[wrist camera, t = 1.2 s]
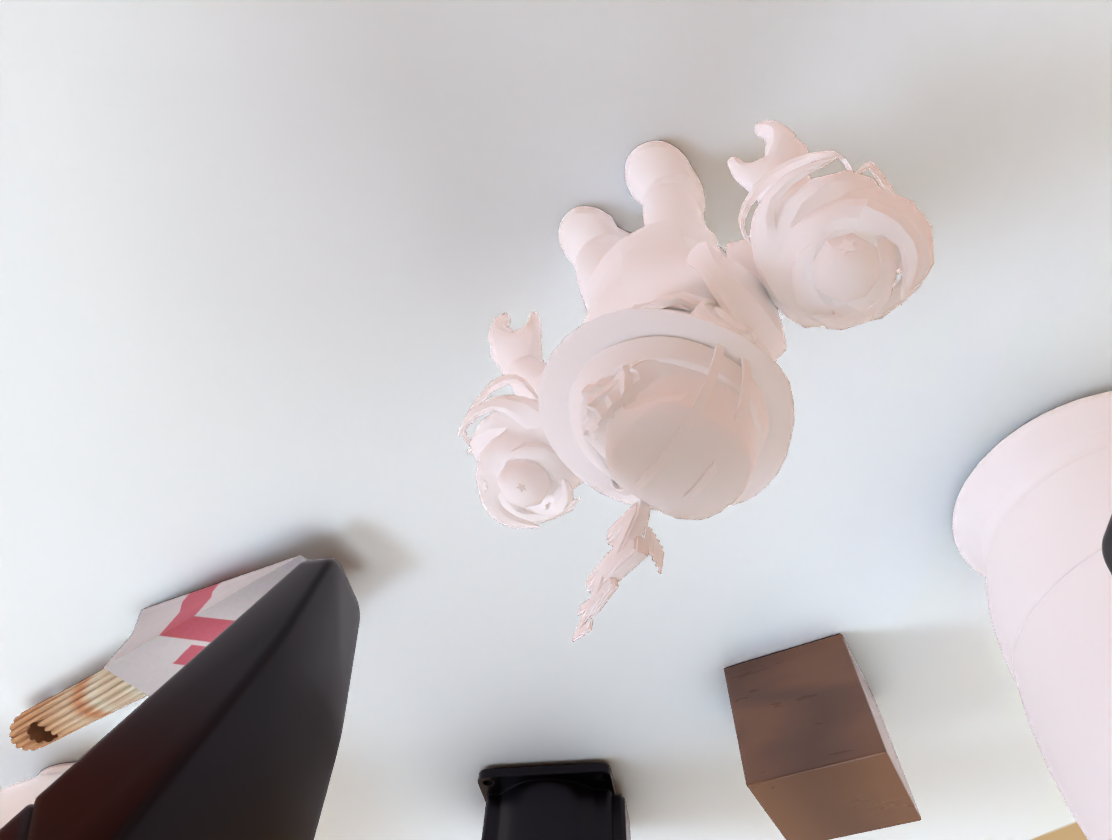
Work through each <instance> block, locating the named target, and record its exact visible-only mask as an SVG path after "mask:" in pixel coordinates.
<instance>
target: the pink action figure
mask: <svg viewBox="0 0 1112 840" xmlns="http://www.w3.org/2000/svg"><path fill="white" fill-rule="evenodd" d="M755 133H756V135H757V136H758V137H760V138H764V139H765V140H764V142H765V145H766V149H765V153H764V157H762V158H761V159H759V160H757V161H755V162H753V163H745V162H743V161H741V160H740V159H739V158H737V157H731V158H730V159H729V160H728V163H727V165H728V167H729V169H730V171H731V173H732V176H733V177H734V179H735V180H736V181H737V182H738V183H739V184H740V185H741V186H743V187H744V188H745V189H746V190H747V191H748V192H749V194H748V195H747V197H746V199H745V200H744V202H743V204H742V206H741V210H740V214H739V218H738V223H739V226H740V230H741V233H742V236H743V238H744V239H742V240H740V241H737V242H729V243H728V244H727V245H726V253H725V252H724V251H723V250H722V249H721V248H720V247H718V244H717V239H716V235H715V234H713V233H712V232H711V231H710V230H708V229H707V226H706V223H705V220H704V217H703V216H704V212H705V204H706V200H705V196H704V192H703V187H702V184H701V182H700V180H699V178H698V177H697V175H696V173H695V172H694V170H693V168H692V166H691V165H690V163H689V161H688V159H687V158H686V157H685V156H684V155H683V154H682V153H681V152H680V151H679V150H678V149H677V148H676V147H674V146H672V145H671V144H669V143H667V142H663V141H658V140H655V141H649V142H646V143H643V144H641V145H639V146H638V147H637V148H635V149H634V150H633V151H632V152H631V153H630V155H629V156H628V157H627V161H626V165H625V181H626V184H627V186H628V189H629V191H630V193H631V196H632V197H633V198H634V199H635V200H636V201H637V202H638V203H640V204H641V205H642V206H643V221H644V227H642V228H640V229H638V230H636V231H634V232H633V233H631V234H630V233H628V232H626V231H624V230H622V229H620V228H618V227H617V226H616V224H615V222H614V220H613V218H612V216H610V215H609V214H607V213H605V212H604V211H602V210H600V209H599V208H595V207H590V206H579V207H575V208H573V209H572V210H570V211H569V212H568V213H567V214H566V215H565V216H564V218H563V220H562V221H561V224H560V227H559V231H558V238H559V244H560V246H561V248H562V251H563V253H564V255H565V256H566V257H567V258H568V260H569V261H570V262H571V263H572V264H573V265H574V266H575V272H576V276H577V281H578V285H579V289H580V293H581V296H582V298H583V301H584V303H585V308H586V310H587V312H588V313H587V315H586V316H585V318H584V322H583V324H582V325H581V326H579V327H578V328H577V329H575V330H574V331H573V332H571V333H570V334H569V335H567V336H566V337H565V338H564V339H563V341H562V342H561V343H560V344H559V346H558V347H557V348H556V349H555V350H554V352H553V353H552V354H551V356H550V358H549V360H548V362H547V363H545V362H544V360H543V359H542V344H541V339H542V325H541V322H540V318H539V315H538V313H536V312H531V313H530V315H529V317H528V321H527V323H526V325H524V326H523V327H522V328H520V329H518V330H516V331H514V332H513V330H512V329H511V328H510V327H509V325H510V322H511V319H510V316H509V315H508V314H507V313H504V314H502V315H500V316H498V317H496V318H495V319H494V320H493V322H492V324H491V327H490V331H489V335H488V339H487V340H488V341H489V343H490V345H491V352H490V357H491V358H492V360H493V361H494V362H495V363H496V365H497V366H498V367H499V369H500V371H501V372H502V374H503V375H502V376H500V377H498V378H496V379H494V380H493V381H491V382H490V383H489V384H488V386H487V387H486V388H485V389H484V390H483V391H482V392H481V393H480V395H479V396H478V398H477V399H476V400H475V402H474V403H473V405H472V406H471V408H470V409H469V411H468V413H467V416H466V418H465V419H464V420H463V422H462V424H461V426H460V428H459V430H458V437H459V436H460V435H461V434H462V437H463V440H464V441H465V442H466V443H467V444H468V445H469V446H470V447H471V448H469V449H467V453H470V454H474V457H475V459H476V460H477V461H478V465H477V469H476V480H477V487H478V491H479V495H480V499H481V503H482V504H483V506H484V507H485V509H486V511H487V512H488V514H489V515H490V517H492V518H493V519H495V520H496V521H498V522H499V523H500V524H502V525H506V526H509V527H512V528H542V527H540V526H538V525H537V524H535V523H543V522H546V521H549V520H552V519H555V518H557V517H559V516H561V515H563V514H565V513H568V512H570V511H572V510H573V508H574V507H575V505H576V504H577V502H578V501H579V499H580V498H581V497H580V498H577V499H574V500H573V489H574V488H575V487H577V486H579V485H580V484H582V483H584V482H585V483H586V484H587V485H589V486H591V487H592V488H594V489H595V490H597V491H598V492H600V493H602V494H604V495H606V496H609V497H611V498H613V499H615V500H618V501H620V502H623V503H626V504H630V505H632V506H631V507H630V508H629V509H628V510H627V511H626V512H625V513H624V514H623V515H622V516H621V517H620V518H619V519H618V520H617V521H616V522H615V523H614V524H613V525H612V526H611V527H610V528H609V529H608V533H607V540H608V545H610V546H612V547H613V548H612V550H610V552H607V553H606V555H605V556H604V557H603V559H602V560H601V561H600V563H599V564H598V565H597V567H596V568H595V569H594V571H593V572H592V573H591V575H590V576H589V577H588V579H587V580H586V588H587V591H588V592H590V593H591V591H592V593H591V596H590V599H588V600H587V601H585V602H584V603H583V604H581V605H580V606H579V610H578V616H579V615H581V614H582V613H583V612H584V614H583V616H582V618H581V620H580V622H579V624H578V626H577V628H576V630H575V632H574V636H573V642H574V641H576V640H577V639H579V638H581V637H582V636H584V635H585V634H587V633H589V632H590V631H591V630H592V625H593V620H591V621H589V622H588V623H586V622H587V620H588V618H591V619H592V618H593V617H595V616H596V615H597V614H598V613H599V611H600V610H601V609H602V608H603V606H604V605H605V604H606V603H607V601H608V600H609V599H610V597H611V596H612V595H613V594H614V592H615V591H616V590H617V589H618V587H619V585H618V582H619V581H620V580H622V579H623V578H624V577H625V576H626V575H627V574H628V573H629V572H630V571H632V570H633V569H634V568H635V567H636V566H637V565H638V564H639V563H641V562H642V561H643V560H644V559H645V558H646V557H647V556H648V554H649V555H651V556H652V560H653V561H654V562H656V565H655V566H656V567H658V572H659V573H660V574H661V572H662V565H663V557H664V552H663V551H662V548H663V546H661V545H660V544H659V540H658V539H656V534H654V533H653V532H652V529H651V528H650V527H648V520H649V517H650V509H652V510H657V511H660V512H662V513H664V514H666V515H669V516H672V517H675V518H677V519H691V520H702V519H706V518H709V517H711V516H713V515H715V514H718V513H720V512H721V511H723V510H724V509H726V508H727V507H729V506H730V505H734V504H738V503H741V502H744V501H746V500H748V499H750V498H752V497H754V496H756V495H757V494H759V493H760V492H761V491H762V490H763V489H764V488H765V487H767V486H768V485H769V484H770V482H771V481H772V480H773V479H774V477H775V476H776V475H777V474H778V472H779V471H780V468H781V466H782V464H783V462H784V460H785V458H786V456H787V452H788V448H789V444H790V440H791V436H792V431H793V425H794V402H793V396H792V391H791V387H790V382H789V381H788V379H787V377H786V376H785V374H784V373H783V371H782V369H781V368H780V367H779V365H778V364H777V363H776V361H777V359H778V358H779V357H780V356H781V355H782V354H783V353H784V352H785V351H786V342H785V336H784V331H783V327H782V323H781V320H780V316H779V313H778V309H779V310H780V311H781V312H782V313H783V314H784V315H785V316H786V317H788V318H789V319H791V320H793V321H794V322H796V323H798V324H799V325H801V326H802V327H804V328H811V327H819V326H823V327H825V328H827V329H836V330H844V329H847V328H850V327H853V326H856V325H859V324H862V323H865V322H868V321H871V320H876V319H881V318H883V317H884V316H886V315H887V314H888V313H890V312H891V311H892V310H894V309H895V308H896V307H898V306H899V305H900V304H901V305H902V303H903V302H904V301H905V300H906V299H907V298H908V297H910V296H911V295H912V294H913V293H914V292H915V291H916V290H917V289H918V288H919V287H920V286H921V284H922V282H923V281H924V279H925V277H926V276H927V274H928V272H929V271H930V269H931V267H932V266H933V264H934V253H933V236H932V226H931V225H930V223H929V222H928V221H927V220H926V218H925V217H924V216H923V214H922V213H921V212H920V211H919V209H918V208H917V207H916V205H915V204H914V203H913V202H912V201H911V200H908V199H906V198H903V197H900V196H898V195H895V193H894V191H893V189H892V187H891V186H890V184H889V183H888V181H887V180H886V178H885V177H884V175H883V174H882V173H881V171H880V170H879V169H878V168H877V167H876V166H875V165H874V164H873V163H872V162H870V161H868V162H866V163H865V164H864V165H863V166H861V167H860V168H859V169H858V170H857V171H856V172H853V170H852V168H851V167H850V165H849V163H848V162H847V160H846V159H845V158H844V157H843V156H841V155H840V154H838V153H836V152H835V151H833V150H831V151H822V152H812V153H809V154H808V147H807V146H806V145H804V144H803V143H802V142H801V141H800V140H798V139H797V138H796V136H795V133H793V132H792V131H791V130H790V129H788V128H787V127H786V126H785V125H783V124H781V123H779V122H776V121H772V120H767V121H763V122H760V123H757V124H756V125H755ZM835 157H837V158H838V159H839V160H840V161H841V162H842V163H843V164H844V166H845V167H846V169H847V170H845V171H842V172H838V173H834V174H829V175H825V176H821V177H817V178H812V179H811V178H810V174H811V173H813V172H814V171H816V170H818V169H820V168H822V167H824V166H826V165H827V164H829V163H831V162H832V161H834V160H835V159H837V158H835ZM820 159H822V160H820ZM815 160H818V161H815ZM813 161H815V162H813ZM810 162H812V163H810ZM868 168H869V170H870V171H871V173H872V174H873V175H874V177H875V178H876V180H877V181H878V183H879V184H880V186H881V187H880V186H879V185H878V184H877V183H876V182H875V181H874V180H873V179H872V178H871V177H868V176H865V175H862V174H861V173H862V172H864V171H865V170H866V169H868ZM755 201H757V202H759V205H758V207H757V208H756V210H755V212H754V214H753V218H752V224H751V229H750V237H748V235H747V232H746V229H745V226H744V223H745V221H746V218H747V215H748V212H749V210H750V208H751V207H752V205H753V204H754V202H755ZM902 272H903V274H902V276H901V279H900V280H899V281H898V282H897V284H896V285H895V286H894V287H893V285H894V283H895V280H896V274H899V273H902ZM892 288H893V289H892ZM505 385H510V386H511V388H512V390H513V391H514V393H515V395H504V396H497V397H492V398H490V399H488V400H487V401H485V402H483V401H484V400H485V399H486V398H487V397H488V396H489V395H490V394H491V393H492V392H493V391H495V390H497V389H499V388H501V387H503V386H505ZM482 402H483V403H482ZM491 411H495V412H494V413H492V414H491V415H489V416H488V417H486V418H485V419H484V420H482V421H481V422H480V423H479V425H478V427H477V429H476V431H475V433H474V435H473V437H472V439H470V438H469V437H468V436H467V432H466V429H467V428H468V427H469V426H470V425H471V424H472V423H473V422H474V421H475V420H476V419H477V418H478V417H480V416H482V415H484V414H487V413H489V412H491ZM644 529H645V531H644ZM643 531H644V537H641V536H642V534H643Z"/></svg>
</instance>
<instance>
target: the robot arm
mask: <svg viewBox="0 0 1112 840" xmlns="http://www.w3.org/2000/svg"><path fill="white" fill-rule="evenodd" d="M1102 554H1103V558H1104V561H1105V563H1106V565H1107V567H1108V569H1109V571H1110V573H1111V575H1112V514H1111V517H1110V520H1109V523H1108V525H1107V528H1106V531H1105V533H1104V536H1103V539H1102ZM359 621H360V611H359V605H358V602H357V599H356V597H355V595H354V592H353V590H352V588H351V586H350V584H349V581H348V579H347V577H346V575H345V573H344V570H343V568H342V566H341V564H340V563H339V562H338V561H337V560H336V559H333V558H324V559H314V560H306V561H303V562H301V563H300V564H298V565H297V566H296V567H295V568H294V569H293V570H291V571H290V572H289V573H288V574H287V575H286V576H285V577H284V578H282V579H281V580H280V581H279V582H278V583H277V584H276V585H275V586H273V587H272V588H271V589H270V590H269V591H268V592H267V593H266V594H264V595H263V596H262V597H261V598H260V599H259V600H258V601H257V602H255V603H254V604H253V605H252V606H251V607H250V608H249V609H248V610H246V611H245V612H244V613H243V614H242V615H241V616H240V617H239V618H237V619H236V620H235V621H234V622H233V623H232V624H231V625H230V626H228V627H227V628H226V629H225V630H224V631H223V632H222V633H221V634H219V635H218V636H217V637H216V638H215V639H214V640H213V641H212V642H210V643H209V644H208V645H207V646H206V647H205V648H204V649H203V650H201V651H200V652H199V653H198V654H197V655H196V656H195V657H194V658H192V659H191V660H190V661H189V662H188V663H187V664H186V665H185V666H183V667H182V668H181V669H180V670H179V671H178V672H177V673H176V674H174V675H173V676H172V677H171V678H170V679H169V680H168V681H167V682H165V683H164V684H163V685H162V686H161V687H160V688H159V689H158V690H156V691H155V692H154V693H153V694H152V695H151V696H150V697H149V698H147V699H146V700H145V701H144V702H143V703H142V704H141V705H140V706H138V707H137V708H136V709H135V710H134V711H133V712H132V713H131V714H129V715H128V716H127V717H126V718H125V719H124V720H123V721H122V722H120V723H119V724H118V725H117V726H116V727H115V728H114V729H113V730H111V731H110V732H109V733H108V734H107V735H106V736H105V737H104V738H102V739H101V740H100V741H99V742H98V743H97V744H96V745H95V746H93V747H92V748H91V749H90V750H89V751H88V752H87V753H86V754H84V755H83V756H82V757H81V758H80V759H79V760H78V761H77V762H75V763H74V764H73V765H72V766H71V767H70V768H69V769H68V770H66V771H65V772H64V773H63V774H62V775H61V776H60V777H59V778H57V779H56V780H55V781H54V782H53V783H52V784H51V785H50V786H48V787H47V788H46V789H45V790H44V791H43V792H42V793H41V794H39V795H38V796H37V797H36V799H35V802H34V804H29V805H27V806H26V807H25V808H23V809H22V810H21V811H20V812H19V813H18V814H17V815H16V816H14V817H13V818H12V819H11V820H10V821H9V822H8V823H7V824H5V825H4V826H3V827H2V828H1V829H0V840H314V837H315V833H316V829H317V826H318V822H319V818H320V815H321V811H322V807H323V803H324V800H325V796H326V792H327V789H328V785H329V781H330V777H331V774H332V770H333V766H334V763H335V759H336V755H337V751H338V747H339V742H340V738H341V733H342V728H343V722H344V717H345V710H346V704H347V698H348V691H349V685H350V679H351V672H352V666H353V660H354V653H355V647H356V640H357V634H358V628H359ZM478 784H479V786H480V789H481V791H482V794H483V796H484V799H485V801H486V808H485V816H484V825H483V833H482V840H631V837H630V821H629V816H628V811H627V806H626V801H625V798H624V797H623V796H622V795H621V794H616V790H615V785H614V781H613V776H612V771H611V768H610V766H609V765H607V764H604V763H593V764H575V765H556V766H537V767H519V768H500V769H485V770H482V771H480V773H479V779H478Z"/></svg>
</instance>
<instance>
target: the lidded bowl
mask: <svg viewBox="0 0 1112 840" xmlns="http://www.w3.org/2000/svg"><path fill="white" fill-rule="evenodd" d="M73 764H74V763H63V764H58V765H53V766H51V767H48V768H46V769H44V770H42V771H41V772H40V773H39V774H38V775H37V776H36V777H33V778H30V779H27V780H24V781H21V782H18V783H15V784H12V785H10V786H8V787H6V788H3V789H1V790H0V829H1V828H2V827H3V826H4V825H5V824H7V823H8V822H9V821H10V820H11V819H12V818H13V817H14V816H16V815H17V814H18V813H19V812H20V811H21V810H22V809H23V808H25V807H26V806H27V805H29V804H34V802H35V799H36V797H37V796H38V795H39V794H41V793H42V792H43V791H44V790H45V789H46V788H47V787H48V786H50V785H51V784H52V783H53V782H54V781H55V780H56V779H57V778H59V777H60V776H61V775H62V774H63V773H64V772H65V771H66V770H68V769H69V768H70V767H71V766H72V765H73Z"/></svg>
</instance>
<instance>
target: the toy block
mask: <svg viewBox="0 0 1112 840" xmlns="http://www.w3.org/2000/svg"><path fill="white" fill-rule="evenodd" d="M724 672H725V677H726V682H727V687H728V692H729V698H730V703H731V708H732V713H733V718H734V723H735V729H736V734H737V739H738V744H739V749H740V754H741V760H742V765H743V770H744V775H745V780H746V785H747V787H748V788H749V789H750V791H751V792H752V793H753V795H754V796H755V797H756V799H757V800H758V802H759V803H760V804H761V806H762V807H763V808H764V810H765V811H766V813H767V814H768V815H769V817H770V818H771V819H772V821H773V822H774V823H775V825H776V826H777V828H778V829H779V830H780V832H781V833H782V834H783V836H784V837H785V839H786V840H829V839H834V838H839V837H843V836H848V835H853V834H858V833H862V832H867V831H872V830H877V829H881V828H886V827H891V826H896V825H900V824H905V823H910V822H915V821H919V820H921V816H920V814H919V811H918V809H917V806H916V804H915V801H914V798H913V796H912V793H911V791H910V788H909V786H908V783H907V781H906V778H905V775H904V773H903V770H902V768H901V765H900V763H899V760H898V757H897V755H896V752H895V750H894V747H893V745H892V742H891V740H890V737H889V734H888V732H887V729H886V727H885V724H884V722H883V719H882V716H881V714H880V711H879V709H878V706H877V704H876V701H875V699H874V697H873V695H872V693H871V691H870V689H869V687H868V685H867V683H866V681H865V679H864V677H863V675H862V673H861V671H860V669H859V667H858V665H857V663H856V661H855V659H854V657H853V655H852V653H851V651H850V649H849V647H848V645H847V643H846V641H845V639H844V637H843V635H842V634H838V635H835V636H831V637H828V638H825V639H821V640H818V641H815V642H811V643H808V644H805V645H801V646H798V647H795V648H791V649H788V650H784V651H781V652H778V653H774V654H771V655H768V656H764V657H761V658H758V659H754V660H751V661H748V662H744V663H741V664H738V665H734V666H731V667H728V668H725V669H724Z"/></svg>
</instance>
